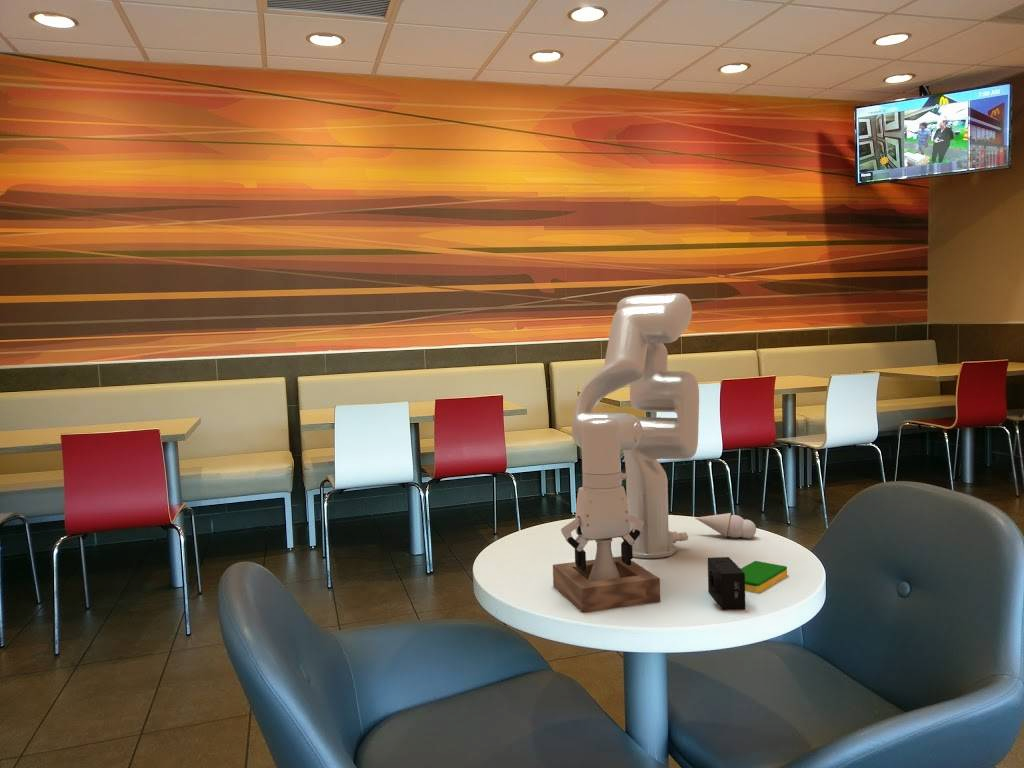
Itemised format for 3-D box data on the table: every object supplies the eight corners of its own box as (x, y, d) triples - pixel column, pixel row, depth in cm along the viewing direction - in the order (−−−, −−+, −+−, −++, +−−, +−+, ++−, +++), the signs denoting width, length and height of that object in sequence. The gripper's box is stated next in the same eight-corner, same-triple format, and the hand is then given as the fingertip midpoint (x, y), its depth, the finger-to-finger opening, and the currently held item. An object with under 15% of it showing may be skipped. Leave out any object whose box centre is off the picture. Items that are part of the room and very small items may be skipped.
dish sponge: (724, 588, 153) (724, 576, 153) (755, 571, 163) (755, 560, 163) (758, 595, 148) (758, 583, 148) (787, 577, 158) (787, 566, 158)
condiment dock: (624, 576, 161) (624, 555, 161) (660, 601, 146) (659, 578, 146) (553, 586, 157) (552, 564, 156) (582, 612, 141) (581, 588, 141)
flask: (579, 588, 152) (577, 538, 151) (603, 579, 156) (602, 531, 156) (606, 596, 146) (605, 545, 146) (630, 587, 151) (629, 538, 150)
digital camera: (702, 591, 151) (701, 557, 150) (729, 591, 150) (728, 556, 150) (715, 610, 140) (715, 573, 140) (745, 609, 140) (744, 572, 140)
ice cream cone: (692, 533, 193) (753, 547, 188) (691, 523, 188) (754, 537, 183) (696, 512, 196) (757, 525, 191) (696, 501, 191) (758, 514, 186)
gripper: (633, 473, 156) (635, 556, 157) (553, 481, 151) (556, 566, 152) (650, 480, 149) (652, 566, 150) (567, 488, 144) (569, 577, 145)
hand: (604, 566), depth 151 cm, fingers open, 9 cm apart
